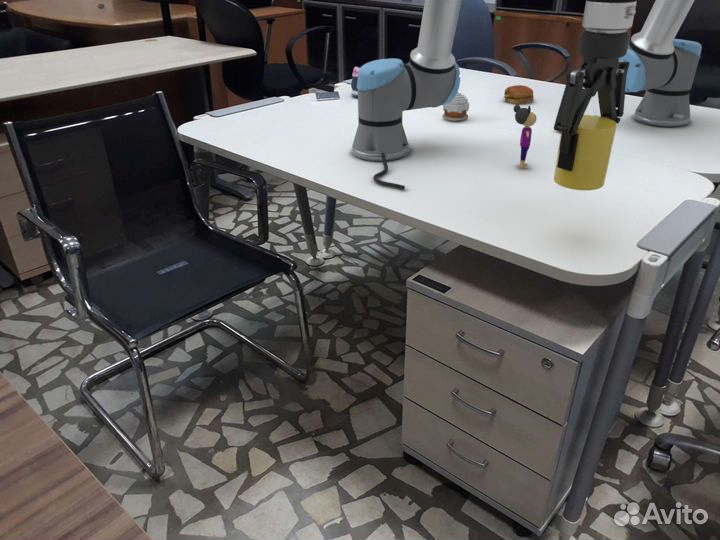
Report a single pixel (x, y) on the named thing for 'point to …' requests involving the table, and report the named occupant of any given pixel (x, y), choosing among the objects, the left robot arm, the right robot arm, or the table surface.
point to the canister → (589, 155)
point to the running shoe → (354, 82)
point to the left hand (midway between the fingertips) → (581, 162)
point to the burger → (518, 94)
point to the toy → (524, 130)
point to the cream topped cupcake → (456, 108)
